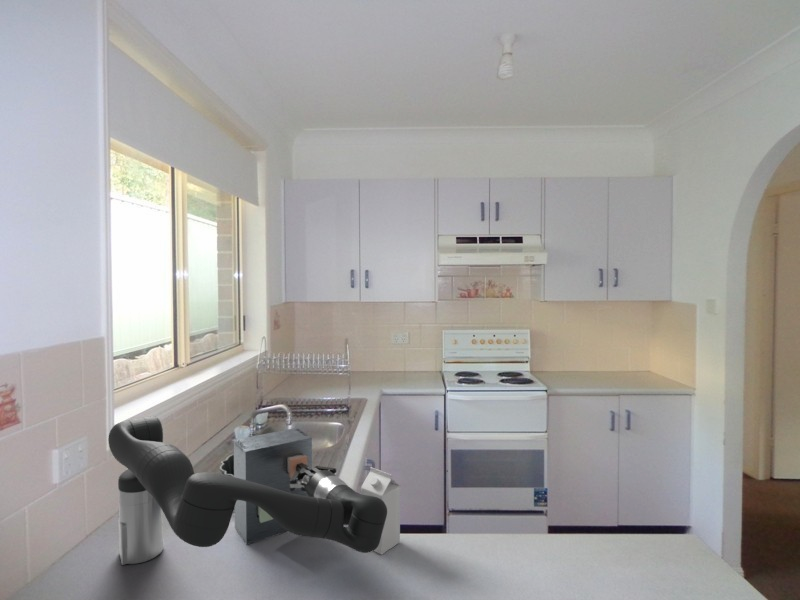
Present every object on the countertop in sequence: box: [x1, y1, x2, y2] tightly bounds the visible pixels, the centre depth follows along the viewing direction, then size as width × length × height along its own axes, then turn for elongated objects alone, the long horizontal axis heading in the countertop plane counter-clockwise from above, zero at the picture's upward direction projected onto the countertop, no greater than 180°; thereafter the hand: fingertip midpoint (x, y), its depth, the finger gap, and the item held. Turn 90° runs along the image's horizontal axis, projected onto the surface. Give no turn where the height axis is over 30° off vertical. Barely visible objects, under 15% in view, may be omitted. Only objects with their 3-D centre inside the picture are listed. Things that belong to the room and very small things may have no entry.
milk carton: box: [360, 466, 401, 555], centre depth 120 cm, size 7×7×19 cm
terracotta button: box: [286, 454, 307, 478], centre depth 127 cm, size 5×9×5 cm, turn 36°
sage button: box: [257, 506, 273, 523], centre depth 123 cm, size 5×9×5 cm, turn 35°
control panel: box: [233, 427, 313, 545], centre depth 128 cm, size 18×10×24 cm, turn 126°
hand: (299, 467), depth 124 cm, fingers closed
